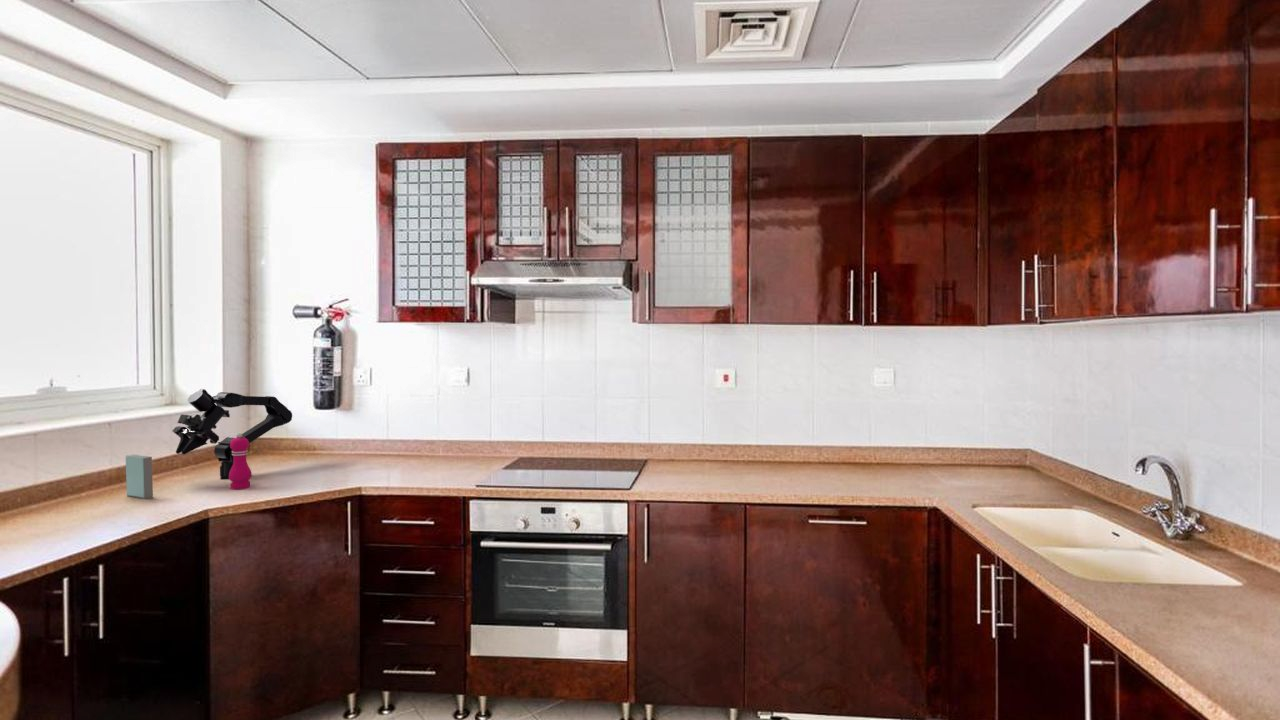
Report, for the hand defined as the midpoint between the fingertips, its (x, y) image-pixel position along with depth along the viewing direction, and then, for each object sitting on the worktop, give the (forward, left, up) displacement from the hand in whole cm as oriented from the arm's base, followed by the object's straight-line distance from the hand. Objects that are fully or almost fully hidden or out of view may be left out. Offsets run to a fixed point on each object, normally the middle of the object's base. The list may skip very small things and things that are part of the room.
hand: (179, 453), depth 239 cm
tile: (+9, +10, -13) cm, 19 cm away
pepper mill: (-21, +5, -13) cm, 25 cm away
